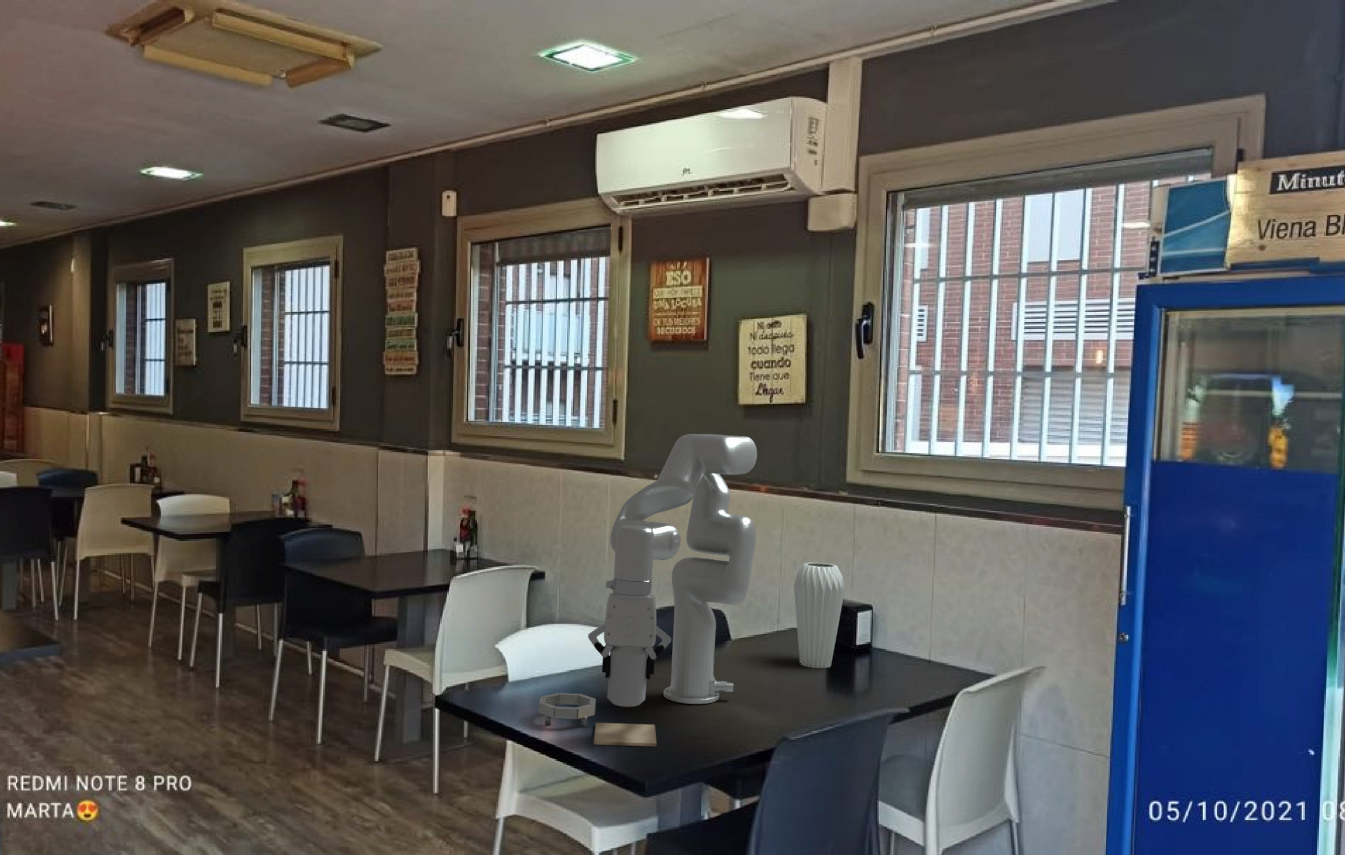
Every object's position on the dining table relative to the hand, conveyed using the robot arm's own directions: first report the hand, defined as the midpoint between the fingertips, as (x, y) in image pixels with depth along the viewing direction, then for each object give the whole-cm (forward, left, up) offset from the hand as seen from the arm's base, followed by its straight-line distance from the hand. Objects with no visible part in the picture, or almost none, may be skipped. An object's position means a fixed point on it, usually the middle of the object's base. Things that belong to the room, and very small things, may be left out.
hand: (627, 676), depth 207 cm
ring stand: (+12, -9, -12) cm, 19 cm away
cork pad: (0, 0, -12) cm, 12 cm away
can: (0, 0, -5) cm, 5 cm away
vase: (-50, -66, -12) cm, 84 cm away
